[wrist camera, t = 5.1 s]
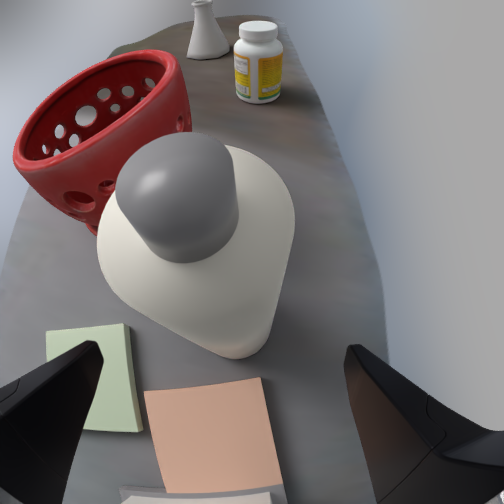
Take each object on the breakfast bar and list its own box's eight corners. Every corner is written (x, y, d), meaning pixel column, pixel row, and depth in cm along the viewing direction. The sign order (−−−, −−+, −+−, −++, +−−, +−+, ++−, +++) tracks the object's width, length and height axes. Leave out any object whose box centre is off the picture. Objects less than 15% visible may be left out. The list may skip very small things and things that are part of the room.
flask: (179, 61, 36) (169, 9, 27) (197, 44, 39) (191, -2, 30) (221, 61, 35) (215, 5, 26) (236, 45, 38) (233, -5, 29)
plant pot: (184, 130, 28) (161, 33, 17) (229, 222, 23) (207, 97, 12) (78, 177, 26) (26, 98, 15) (89, 283, 21) (-8, 207, 10)
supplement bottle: (231, 103, 30) (225, 32, 21) (242, 81, 32) (238, 18, 23) (277, 107, 29) (280, 34, 20) (283, 85, 31) (286, 21, 23)
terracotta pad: (282, 478, 14) (283, 483, 13) (171, 488, 14) (166, 493, 13) (260, 376, 18) (260, 377, 17) (148, 390, 17) (143, 391, 16)
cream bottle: (277, 351, 18) (341, 269, 4) (205, 364, 18) (52, 317, 4) (263, 284, 20) (269, 87, 6) (195, 296, 20) (85, 129, 6)
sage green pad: (143, 429, 16) (138, 432, 15) (61, 424, 15) (54, 425, 14) (129, 326, 19) (123, 323, 18) (52, 333, 19) (45, 331, 18)
